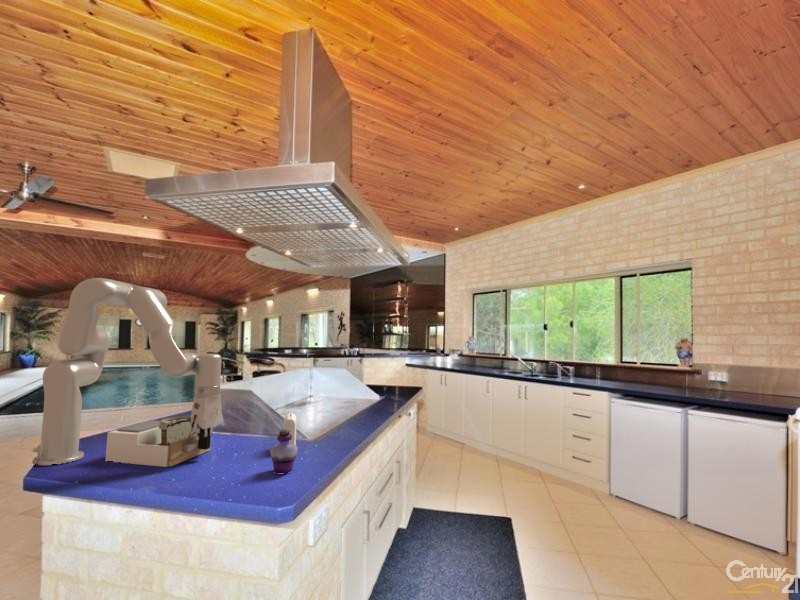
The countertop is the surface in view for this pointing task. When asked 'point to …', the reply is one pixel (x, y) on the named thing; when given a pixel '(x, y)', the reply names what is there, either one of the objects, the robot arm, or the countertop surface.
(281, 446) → the potion bottle
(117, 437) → the dock
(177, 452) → the sliding tray
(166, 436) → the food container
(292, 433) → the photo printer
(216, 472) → the countertop surface
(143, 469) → the countertop surface
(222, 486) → the countertop surface
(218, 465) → the countertop surface
